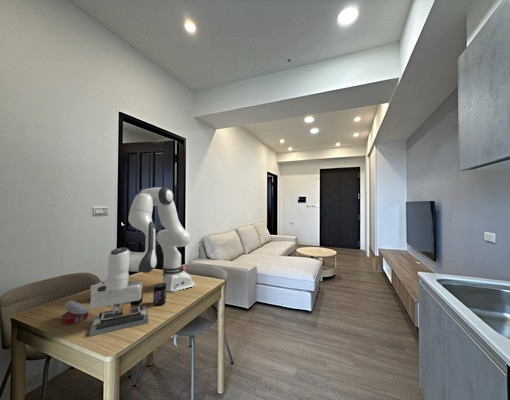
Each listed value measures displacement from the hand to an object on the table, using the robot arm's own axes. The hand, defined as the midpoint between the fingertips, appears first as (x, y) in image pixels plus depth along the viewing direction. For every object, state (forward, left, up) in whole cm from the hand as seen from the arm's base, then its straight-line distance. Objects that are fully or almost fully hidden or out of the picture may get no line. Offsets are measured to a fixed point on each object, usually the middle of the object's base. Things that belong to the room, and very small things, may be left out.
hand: (116, 313), depth 99 cm
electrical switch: (+10, -34, -5) cm, 36 cm away
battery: (-8, -19, -5) cm, 21 cm away
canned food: (+17, -13, -5) cm, 22 cm away
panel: (-2, 0, -5) cm, 5 cm away
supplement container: (-20, -12, -5) cm, 24 cm away
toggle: (-4, 0, -3) cm, 5 cm away
